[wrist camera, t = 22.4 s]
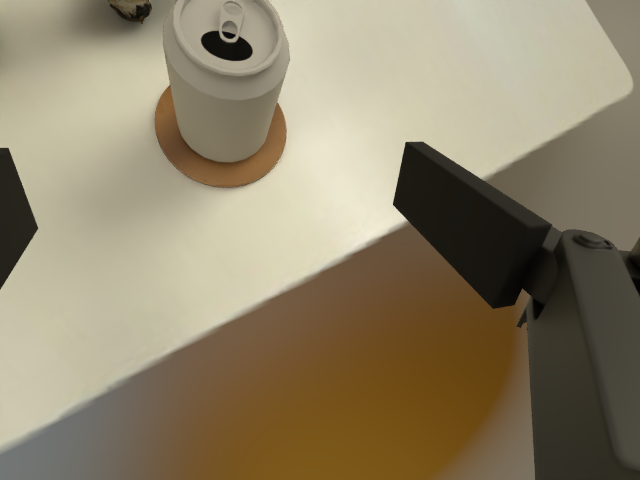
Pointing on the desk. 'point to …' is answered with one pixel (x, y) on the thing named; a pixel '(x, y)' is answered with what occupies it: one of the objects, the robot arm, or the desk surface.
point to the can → (225, 73)
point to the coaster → (210, 169)
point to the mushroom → (132, 9)
